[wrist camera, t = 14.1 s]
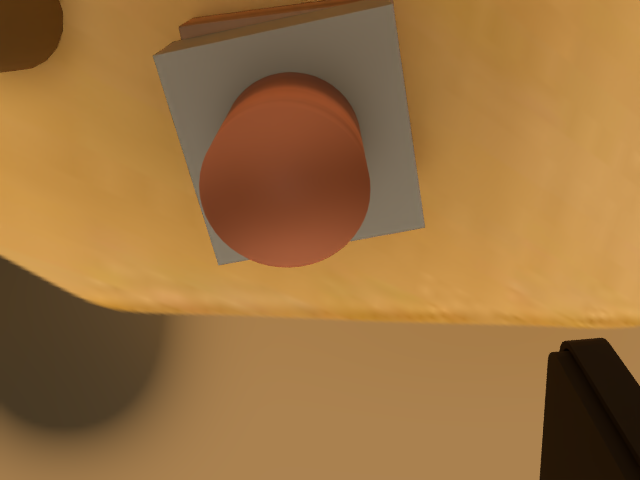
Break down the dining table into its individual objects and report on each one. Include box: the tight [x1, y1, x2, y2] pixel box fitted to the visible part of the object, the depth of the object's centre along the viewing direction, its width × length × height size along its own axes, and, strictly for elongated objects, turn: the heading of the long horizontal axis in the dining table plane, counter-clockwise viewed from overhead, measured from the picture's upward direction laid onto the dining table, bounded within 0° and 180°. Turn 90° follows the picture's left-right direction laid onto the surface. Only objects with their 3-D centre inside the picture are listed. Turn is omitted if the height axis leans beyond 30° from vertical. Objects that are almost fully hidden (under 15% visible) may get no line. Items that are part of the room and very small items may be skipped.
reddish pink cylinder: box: [199, 72, 371, 267], centre depth 24 cm, size 6×6×6 cm
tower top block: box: [153, 0, 425, 265], centre depth 29 cm, size 10×10×4 cm
